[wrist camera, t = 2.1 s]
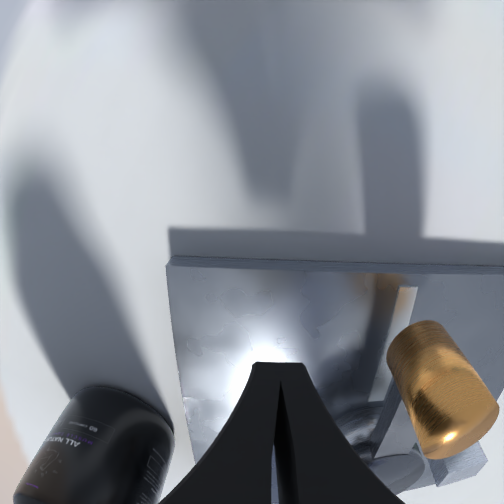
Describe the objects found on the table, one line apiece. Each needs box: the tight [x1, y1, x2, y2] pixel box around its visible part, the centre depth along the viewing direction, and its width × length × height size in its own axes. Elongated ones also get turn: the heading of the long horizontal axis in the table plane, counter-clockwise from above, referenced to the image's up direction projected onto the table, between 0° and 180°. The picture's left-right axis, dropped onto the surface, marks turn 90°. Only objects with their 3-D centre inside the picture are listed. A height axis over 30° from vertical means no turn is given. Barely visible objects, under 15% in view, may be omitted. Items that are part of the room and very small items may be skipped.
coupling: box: [352, 320, 499, 495], centre depth 9 cm, size 11×5×4 cm, turn 179°
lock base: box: [166, 256, 504, 503], centre depth 13 cm, size 18×18×4 cm
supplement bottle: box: [13, 387, 175, 504], centre depth 11 cm, size 7×7×12 cm
